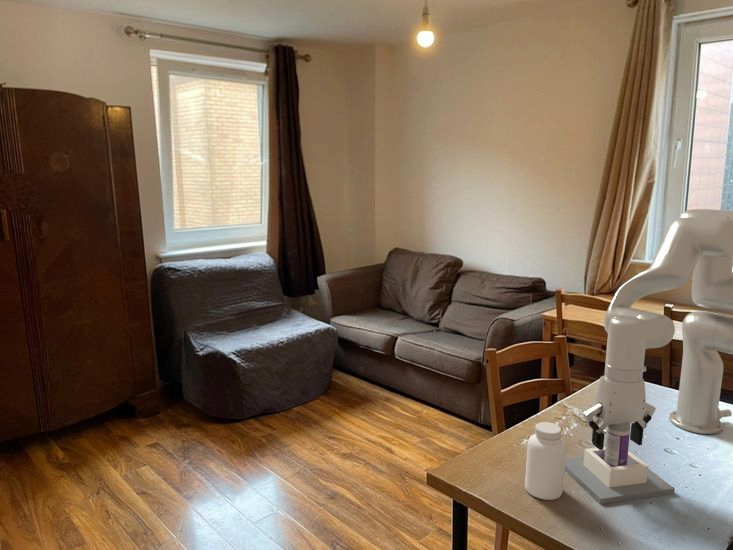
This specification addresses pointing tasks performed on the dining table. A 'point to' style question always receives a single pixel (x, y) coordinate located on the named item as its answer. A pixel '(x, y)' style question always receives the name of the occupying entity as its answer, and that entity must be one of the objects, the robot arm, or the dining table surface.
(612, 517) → the dining table surface
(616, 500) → the square socket holder
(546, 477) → the pill bottle
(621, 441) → the container
